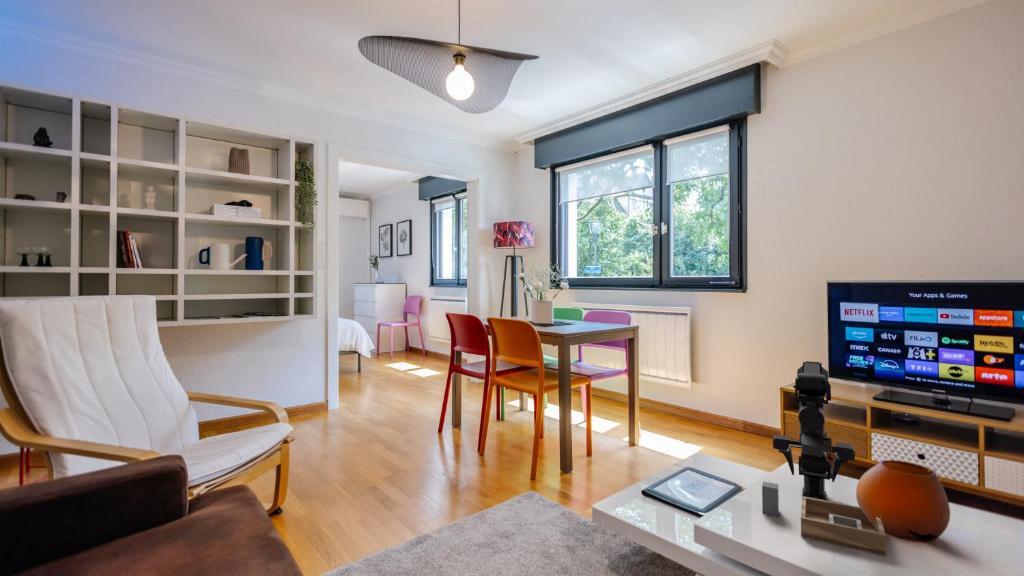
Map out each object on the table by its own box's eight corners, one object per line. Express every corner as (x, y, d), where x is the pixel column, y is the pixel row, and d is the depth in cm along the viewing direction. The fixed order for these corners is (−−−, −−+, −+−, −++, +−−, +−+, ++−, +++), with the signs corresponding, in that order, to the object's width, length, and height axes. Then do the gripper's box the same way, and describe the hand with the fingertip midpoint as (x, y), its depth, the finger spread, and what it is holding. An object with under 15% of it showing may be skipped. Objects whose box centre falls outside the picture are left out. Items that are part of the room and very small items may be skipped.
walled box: (802, 513, 141) (802, 496, 141) (878, 528, 132) (878, 510, 132) (801, 536, 128) (800, 517, 128) (886, 556, 118) (885, 535, 118)
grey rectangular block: (763, 507, 145) (763, 481, 145) (778, 511, 143) (778, 484, 143) (762, 513, 142) (761, 485, 142) (778, 516, 139) (777, 488, 140)
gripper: (771, 423, 129) (771, 481, 129) (856, 433, 119) (857, 496, 119) (773, 414, 138) (774, 468, 138) (853, 423, 128) (853, 481, 128)
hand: (812, 478), depth 131 cm, fingers open, 9 cm apart
